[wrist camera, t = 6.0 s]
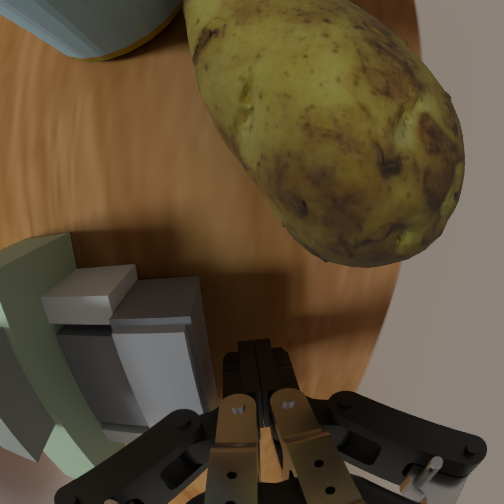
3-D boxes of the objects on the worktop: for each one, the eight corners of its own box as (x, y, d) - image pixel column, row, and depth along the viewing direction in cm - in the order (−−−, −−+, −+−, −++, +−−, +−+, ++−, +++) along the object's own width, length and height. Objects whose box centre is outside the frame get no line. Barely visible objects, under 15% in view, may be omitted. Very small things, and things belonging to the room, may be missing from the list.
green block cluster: (24, 239, 11) (-86, 298, 3) (129, 224, 12) (10, 305, 4) (90, 414, 15) (57, 503, 7) (178, 420, 15) (168, 530, 7)
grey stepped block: (78, 283, 12) (34, 324, 8) (198, 275, 12) (188, 324, 8) (119, 396, 14) (101, 447, 10) (218, 397, 15) (219, 455, 11)
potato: (344, -2, 9) (418, -79, 2) (375, 221, 13) (499, 275, 5) (188, -6, 9) (170, -115, 1) (206, 238, 12) (184, 340, 5)
